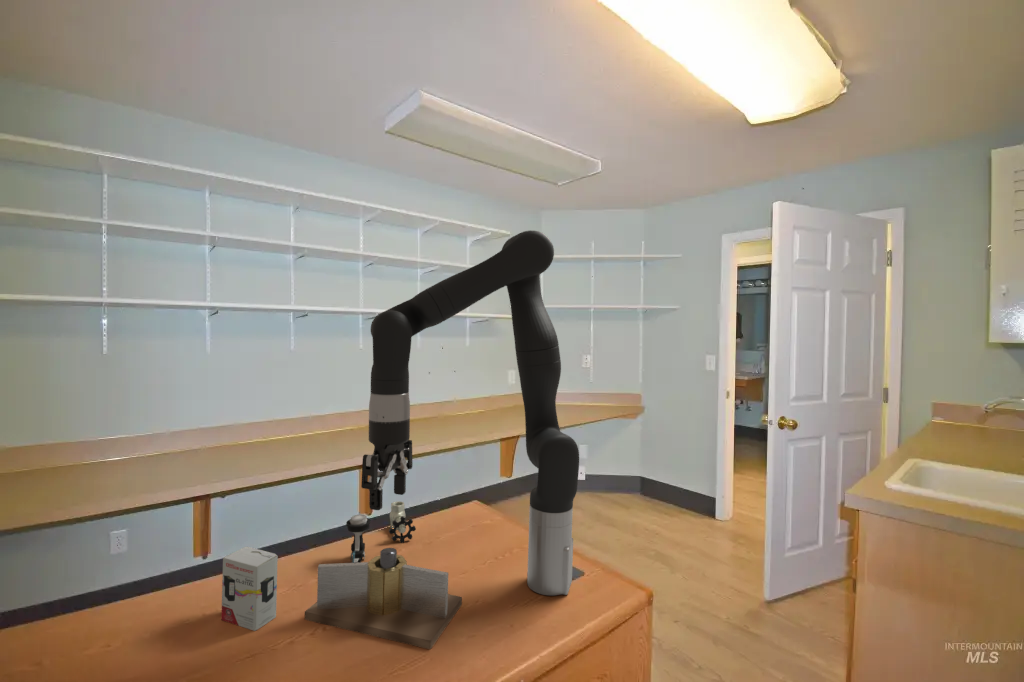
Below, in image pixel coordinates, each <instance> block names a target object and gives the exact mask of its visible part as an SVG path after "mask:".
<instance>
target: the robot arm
mask: <svg viewBox="0 0 1024 682" xmlns="http://www.w3.org/2000/svg"><path fill="white" fill-rule="evenodd" d="M554 257H555V249H554V245H553V242H552V241H551V239H550V238H549V237H548V236H547V235H546V234H545V233H543V232H541V231H539V230H525V231H522V232H520V233H517V234H515V235H513V236H512V237H509V238H508V239H507V240H506V241H505V243H503V246H502V247H501V249H500V250H499V252H497V253H495V254H493V255H492V256H490V257H489V258H487V259H486V260H484V261H482V262H480V263H478V264H475V265H474V266H471V267H469V268H467V269H465V270H462V271H461V272H458V273H455V274H453V275H451V276H449V277H447V278H444V279H443V280H441V281H439V282H437V283H435V284H433V285H431V286H430V287H427V288H426V289H424V290H422V291H420V292H419V293H418V294H416V295H414V296H413V297H412V298H410V299H408V300H405V301H403V302H401V303H399V304H397V305H395V306H393V307H391V308H389V309H387V310H385V311H382V312H381V313H379V314H377V315H376V316H374V318H373V320H372V321H371V324H370V334H371V337H372V367H371V372H370V393H369V394H370V397H369V403H368V404H369V405H368V442H369V443H370V444H372V445H373V446H374V447H373V449H374V450H373V453H372V454H367V453H366V454H363V456H362V462H361V463H362V464H361V465H362V466H361V467H362V468H361V489H363V490H364V489H366V490H369V495H368V496H369V498H368V499H369V500H368V501H369V509H370V510H372V511H380V510H382V508H383V494H384V493H383V487H384V484H385V481H386V480H387V479H388V478H389V476H390V473H391V472H392V471H393V472H394V475H393V493H394V494H395V495H400V496H401V495H402V496H403V495H405V494H406V491H407V490H406V485H407V484H406V483H407V482H406V481H407V480H406V479H407V475H408V473H409V470H412V469H413V440H412V439H411V440H410V431H411V429H410V428H411V427H410V425H411V423H410V422H411V418H410V417H411V401H410V389H409V388H410V373H409V372H410V371H409V363H410V358H411V357H410V356H411V349H412V338H413V337H414V336H415V335H417V334H419V333H420V332H422V331H424V330H425V329H429V328H431V327H432V328H433V327H434V326H437V325H439V324H441V323H443V322H445V321H447V320H448V319H450V318H452V317H454V316H455V315H458V313H460V312H462V311H464V310H465V309H468V308H469V307H471V306H472V305H474V304H476V303H478V302H479V301H481V300H482V299H485V297H487V296H489V295H491V294H492V293H494V292H497V291H498V290H500V289H502V288H504V287H506V289H507V293H508V298H509V299H508V300H509V304H510V311H511V320H512V329H513V330H512V331H513V339H514V349H515V356H516V357H515V358H516V364H517V370H518V375H519V382H520V390H521V396H522V401H523V406H524V407H523V408H524V417H525V418H524V419H525V420H524V421H525V423H524V425H525V447H526V448H525V450H526V455H527V457H528V460H529V461H530V462H531V464H532V465H533V466H534V467H535V468H537V483H536V487H534V488H532V490H531V491H530V493H529V494H530V495H529V512H528V513H529V516H528V517H529V519H528V520H529V521H528V546H527V547H528V548H527V570H526V571H527V572H526V576H527V579H526V581H527V582H526V583H527V586H528V588H529V589H530V590H531V591H532V592H534V593H537V594H539V595H544V596H560V595H564V596H566V595H567V596H568V594H569V591H570V589H571V585H572V583H573V561H574V560H573V559H574V558H573V556H574V538H573V514H574V513H573V511H574V507H573V506H574V500H575V497H576V495H577V492H578V483H579V472H580V470H579V469H580V451H579V447H578V445H577V442H576V441H575V439H574V438H572V436H570V435H568V434H566V433H563V432H562V431H561V429H560V425H559V421H558V415H557V408H556V402H557V401H556V400H557V393H558V388H559V384H560V380H561V373H562V361H561V353H560V345H559V340H558V339H559V338H558V335H557V331H556V329H555V327H554V325H553V322H552V320H551V318H550V316H549V314H548V311H547V309H546V307H545V304H544V300H543V297H542V296H543V295H542V291H541V290H542V289H541V277H540V275H541V274H543V273H545V272H546V270H548V269H549V267H550V266H551V265H552V262H553V260H554ZM406 459H407V460H406ZM368 477H369V478H368Z"/></svg>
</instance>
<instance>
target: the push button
mask: <svg viewBox="0 0 1024 682" xmlns="http://www.w3.org/2000/svg"><path fill="white" fill-rule="evenodd" d="M371 522H372V521H371V518H369V517H367V515H365V514H354V515H352V516H351V517H350V519H348V520H347V521H346V524H345V525H346V526H347V531H348V532H350V533H352V534H353V540H352V543H351V544H350V551H351V553H350V560H352V561H351V563H361V562H362V561H363V560H365V558H366V551H365V548H366V542H364V537H363V536H364V535H363V533H364V532H366V531H367V530H369V528H370V524H371Z"/></svg>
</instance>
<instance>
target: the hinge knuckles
mask: <svg viewBox="0 0 1024 682" xmlns="http://www.w3.org/2000/svg"><path fill="white" fill-rule="evenodd" d="M316 590H317V593H316V594H317V595H316V599H317V600H316V602H317V609H332V608H350V607H367V608H368V611H369V612H370V613H373V614H378V615H388V614H391V613H395V612H398V611H400V609H404V610H408V611H413V612H418V613H422V614H427V615H432V616H436V617H441V618H446V616H447V606H448V594H449V572H447V571H443V570H442V571H441V570H437V569H430V568H425V567H420V566H416V565H415V566H414V565H410V564H408V562H407V560H406V558H405V557H404V556H403V555H400V554H397V558H396V567H392V568H388V569H382V568H380V555H375V556H374V557H373V558H372V559H370V560H369V561H366V562H365V561H363V562H362V561H361V563H352V562H344V563H341V562H340V563H339V562H338V563H322V564H321V563H319V564H318V566H317V589H316Z"/></svg>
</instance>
